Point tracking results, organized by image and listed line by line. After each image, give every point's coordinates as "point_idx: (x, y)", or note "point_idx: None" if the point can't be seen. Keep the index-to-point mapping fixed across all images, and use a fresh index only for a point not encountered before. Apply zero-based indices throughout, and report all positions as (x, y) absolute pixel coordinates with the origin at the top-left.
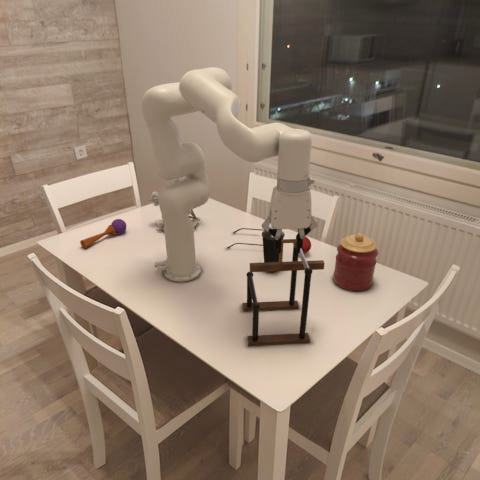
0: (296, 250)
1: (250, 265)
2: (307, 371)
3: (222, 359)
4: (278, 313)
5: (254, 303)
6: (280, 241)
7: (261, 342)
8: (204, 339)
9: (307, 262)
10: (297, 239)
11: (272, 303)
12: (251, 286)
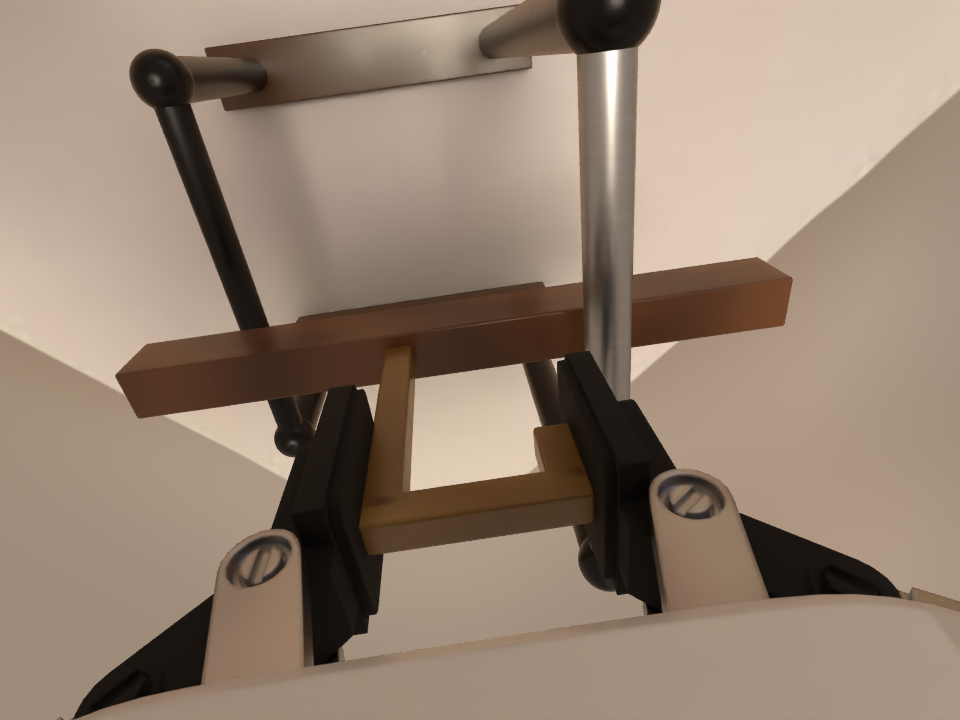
0: (560, 422)
1: (137, 415)
2: (517, 444)
3: (233, 422)
4: (420, 115)
5: (282, 447)
6: (365, 615)
7: None
8: (121, 331)
9: (640, 328)
10: (599, 539)
11: (382, 47)
12: (222, 274)
